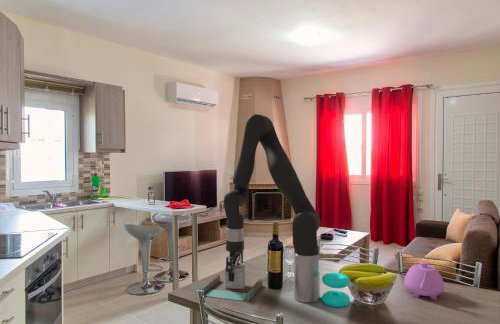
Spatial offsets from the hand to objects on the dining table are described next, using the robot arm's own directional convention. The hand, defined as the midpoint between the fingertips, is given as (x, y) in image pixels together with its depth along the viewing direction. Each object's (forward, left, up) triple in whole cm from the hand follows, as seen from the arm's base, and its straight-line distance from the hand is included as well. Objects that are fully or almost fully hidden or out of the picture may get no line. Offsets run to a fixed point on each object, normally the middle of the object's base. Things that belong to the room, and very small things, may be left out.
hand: (234, 278), depth 151 cm
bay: (0, +4, -4) cm, 5 cm away
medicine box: (0, 0, -4) cm, 4 cm away
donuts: (-41, +4, -4) cm, 42 cm away
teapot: (-73, -14, -4) cm, 75 cm away
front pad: (0, +10, -4) cm, 10 cm away
